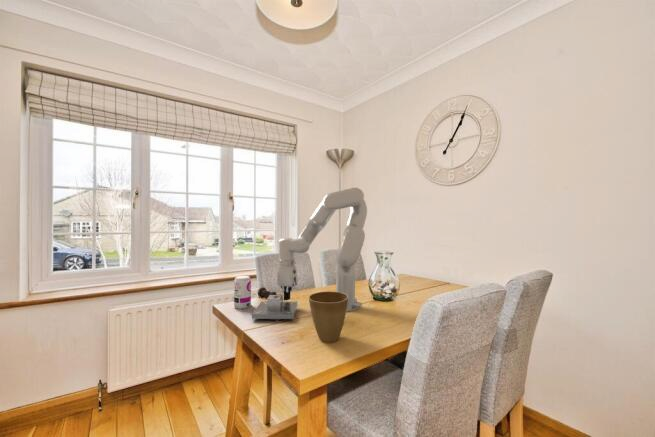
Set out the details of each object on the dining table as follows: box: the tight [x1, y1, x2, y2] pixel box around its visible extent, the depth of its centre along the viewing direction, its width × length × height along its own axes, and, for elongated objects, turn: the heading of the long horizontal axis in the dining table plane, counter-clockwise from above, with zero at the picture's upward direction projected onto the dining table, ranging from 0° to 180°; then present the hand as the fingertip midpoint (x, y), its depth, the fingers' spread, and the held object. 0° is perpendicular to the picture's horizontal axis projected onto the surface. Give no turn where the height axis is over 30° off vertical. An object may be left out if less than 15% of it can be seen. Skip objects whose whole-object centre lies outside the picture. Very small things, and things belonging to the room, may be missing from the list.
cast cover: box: [266, 295, 282, 310], centre depth 132 cm, size 6×6×5 cm
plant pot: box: [308, 290, 348, 343], centre depth 107 cm, size 15×15×16 cm
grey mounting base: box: [251, 292, 298, 320], centre depth 133 cm, size 18×20×7 cm
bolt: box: [257, 286, 277, 298], centre depth 157 cm, size 6×5×15 cm
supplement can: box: [233, 275, 252, 310], centre depth 143 cm, size 8×8×15 cm
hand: (287, 299), depth 141 cm, fingers closed
